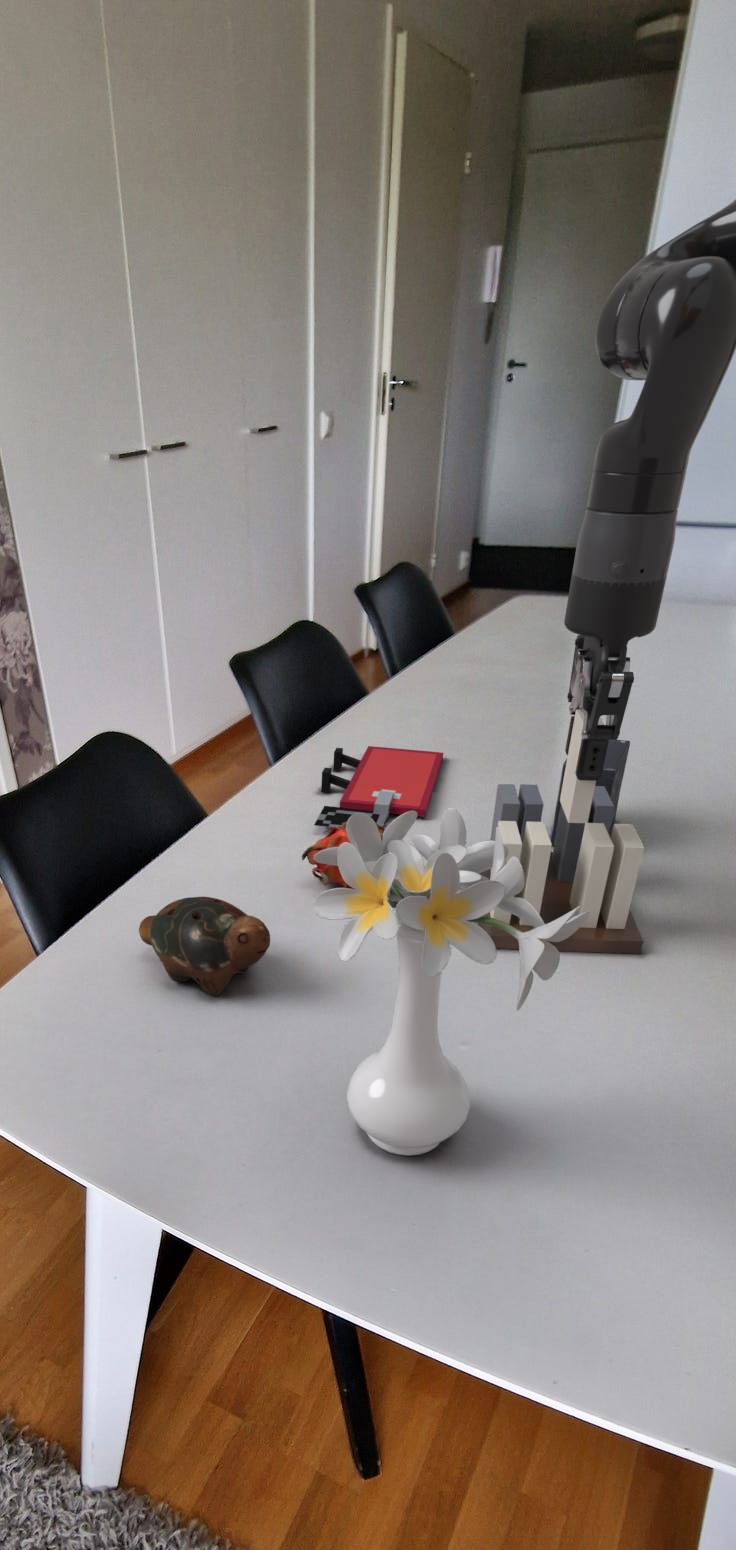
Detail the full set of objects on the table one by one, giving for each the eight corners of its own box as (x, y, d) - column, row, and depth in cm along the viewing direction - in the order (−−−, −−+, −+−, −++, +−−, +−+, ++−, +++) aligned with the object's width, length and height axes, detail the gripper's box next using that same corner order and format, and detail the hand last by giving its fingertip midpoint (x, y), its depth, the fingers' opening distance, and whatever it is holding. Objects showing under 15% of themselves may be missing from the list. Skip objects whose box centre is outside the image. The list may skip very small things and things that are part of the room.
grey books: (588, 861, 106) (604, 785, 100) (597, 883, 101) (614, 805, 96) (487, 858, 107) (497, 783, 101) (491, 880, 102) (502, 803, 97)
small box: (563, 813, 120) (578, 733, 114) (615, 821, 118) (633, 739, 112) (546, 845, 113) (561, 761, 106) (601, 854, 110) (619, 769, 104)
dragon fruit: (411, 911, 103) (309, 911, 107) (418, 844, 106) (318, 846, 110) (398, 874, 96) (289, 876, 100) (406, 803, 98) (299, 808, 102)
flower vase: (504, 1228, 64) (569, 910, 49) (271, 1141, 71) (266, 843, 56) (554, 1117, 73) (621, 820, 58) (342, 1050, 80) (354, 773, 66)
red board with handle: (299, 830, 117) (417, 843, 114) (299, 809, 115) (419, 822, 112) (343, 752, 140) (442, 761, 137) (344, 734, 139) (444, 743, 136)
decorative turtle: (251, 1018, 85) (241, 944, 80) (119, 986, 91) (103, 916, 87) (299, 964, 91) (293, 892, 86) (173, 937, 98) (160, 869, 93)
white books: (614, 903, 97) (632, 823, 92) (624, 929, 93) (644, 847, 88) (487, 899, 99) (498, 820, 94) (491, 924, 94) (503, 843, 89)
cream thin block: (578, 800, 91) (595, 709, 86) (587, 823, 87) (606, 728, 82) (559, 800, 92) (575, 709, 86) (568, 823, 87) (585, 728, 82)
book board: (603, 865, 108) (605, 853, 107) (640, 954, 92) (643, 941, 91) (464, 861, 110) (466, 849, 109) (477, 947, 94) (479, 935, 93)
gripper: (689, 587, 71) (639, 797, 81) (647, 554, 82) (608, 742, 92) (588, 587, 71) (551, 795, 81) (560, 555, 83) (531, 740, 93)
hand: (581, 766), depth 87 cm, fingers closed on cream thin block, 5 cm apart
